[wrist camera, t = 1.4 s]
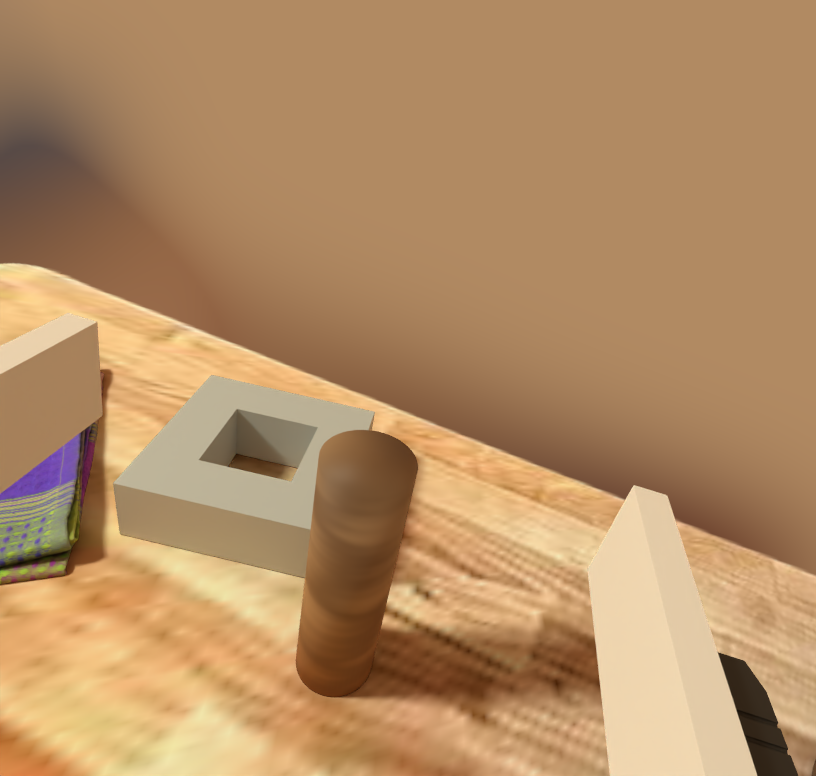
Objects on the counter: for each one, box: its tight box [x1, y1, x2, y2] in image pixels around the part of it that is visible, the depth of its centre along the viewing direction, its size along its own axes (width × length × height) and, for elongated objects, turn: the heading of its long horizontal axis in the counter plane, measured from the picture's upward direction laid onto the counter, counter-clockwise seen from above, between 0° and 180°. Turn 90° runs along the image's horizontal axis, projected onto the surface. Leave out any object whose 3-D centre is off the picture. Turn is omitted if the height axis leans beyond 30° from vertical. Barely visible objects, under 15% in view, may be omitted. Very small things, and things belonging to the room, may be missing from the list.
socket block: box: [113, 375, 375, 578], centre depth 42 cm, size 14×14×4 cm
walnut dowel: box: [296, 430, 418, 697], centre depth 29 cm, size 4×4×15 cm
